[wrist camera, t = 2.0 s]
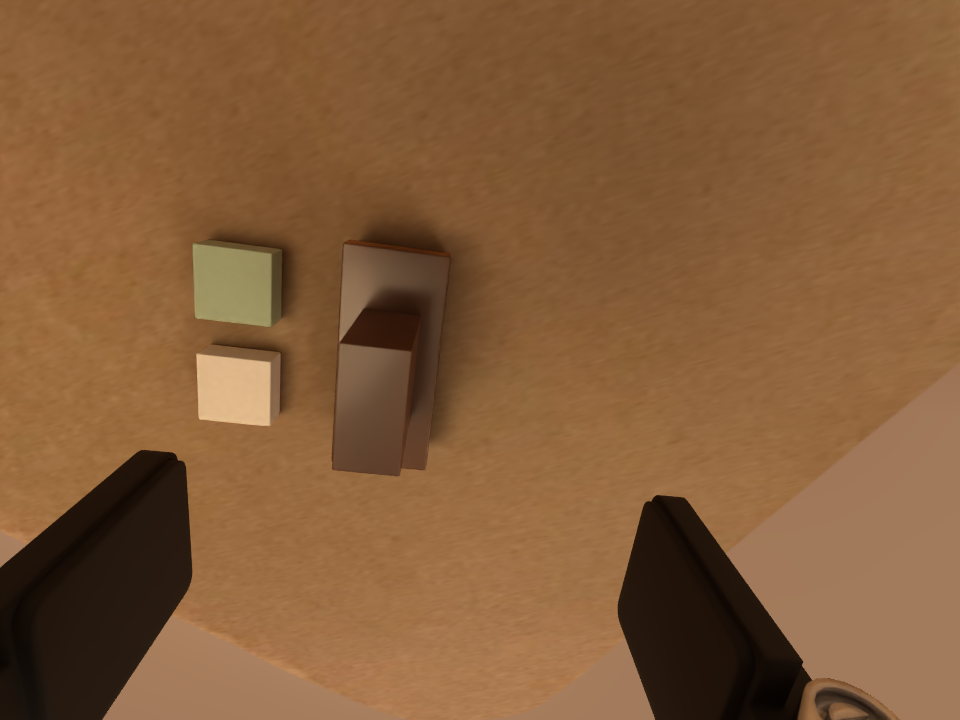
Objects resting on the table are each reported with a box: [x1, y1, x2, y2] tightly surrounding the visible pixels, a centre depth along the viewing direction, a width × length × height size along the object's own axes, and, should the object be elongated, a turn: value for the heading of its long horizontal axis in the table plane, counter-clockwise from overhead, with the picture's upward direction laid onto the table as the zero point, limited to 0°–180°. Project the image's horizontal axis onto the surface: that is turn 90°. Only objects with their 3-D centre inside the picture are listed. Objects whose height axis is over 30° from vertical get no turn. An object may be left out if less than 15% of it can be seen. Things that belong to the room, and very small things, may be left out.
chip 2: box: [196, 344, 281, 426], centre depth 30 cm, size 4×4×2 cm
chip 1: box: [192, 240, 282, 327], centre depth 28 cm, size 4×4×2 cm
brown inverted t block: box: [332, 240, 451, 476], centre depth 27 cm, size 5×12×9 cm, turn 172°
